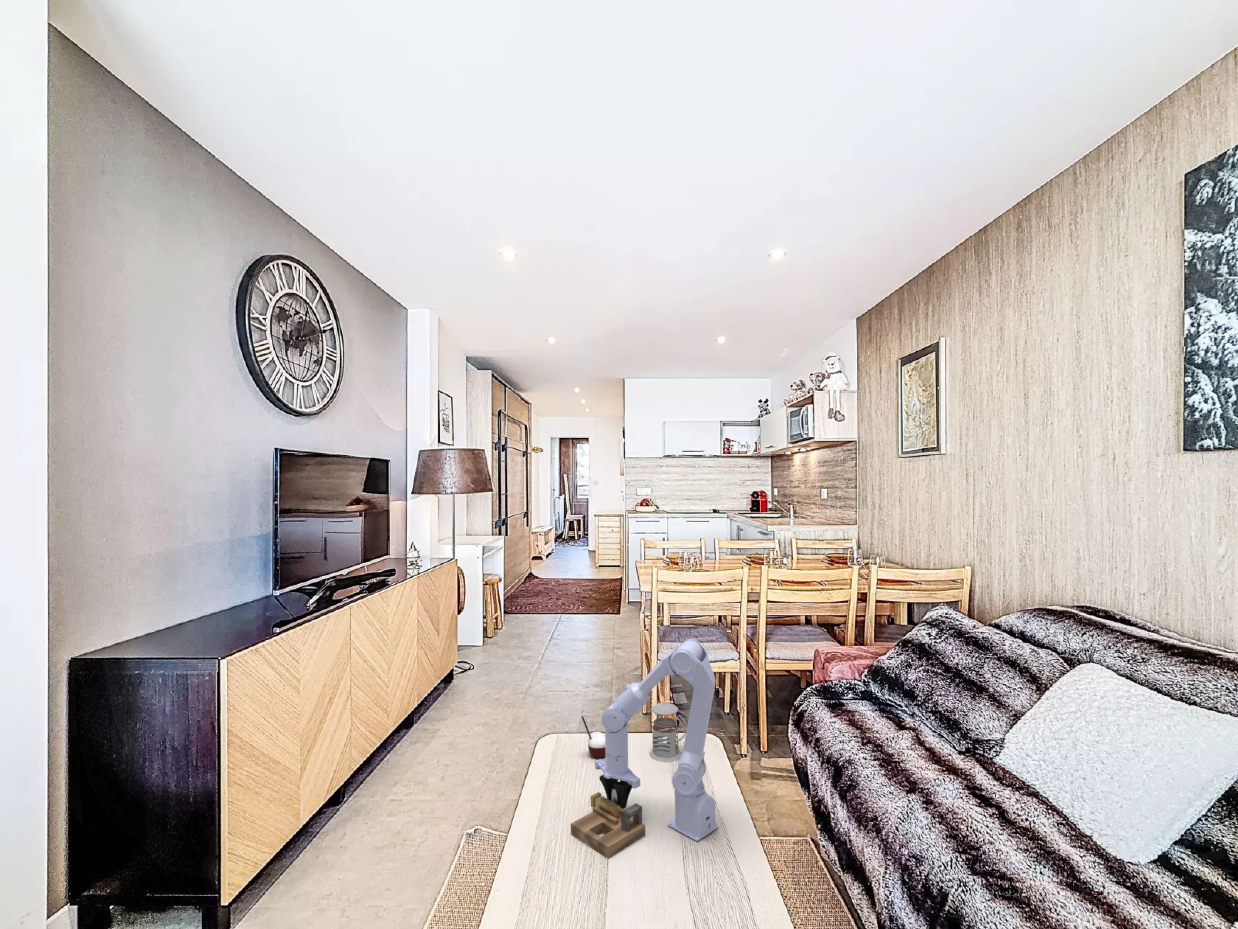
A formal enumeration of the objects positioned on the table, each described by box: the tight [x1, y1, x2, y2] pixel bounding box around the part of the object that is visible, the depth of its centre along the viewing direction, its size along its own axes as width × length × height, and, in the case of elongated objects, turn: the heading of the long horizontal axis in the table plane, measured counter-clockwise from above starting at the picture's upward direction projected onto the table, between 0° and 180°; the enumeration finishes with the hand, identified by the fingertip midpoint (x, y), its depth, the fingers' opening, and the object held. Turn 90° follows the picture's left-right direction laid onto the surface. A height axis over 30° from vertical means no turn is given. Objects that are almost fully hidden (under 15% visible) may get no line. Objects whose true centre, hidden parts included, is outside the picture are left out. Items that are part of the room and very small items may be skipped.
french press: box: [648, 675, 687, 763], centre depth 188 cm, size 10×12×25 cm
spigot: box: [611, 786, 618, 805], centre depth 158 cm, size 3×3×6 cm
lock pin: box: [590, 791, 620, 818], centre depth 154 cm, size 8×3×3 cm, turn 44°
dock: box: [570, 803, 646, 859], centre depth 148 cm, size 13×12×6 cm
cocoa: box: [581, 716, 606, 759], centre depth 189 cm, size 10×6×12 cm, turn 82°
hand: (617, 805), depth 158 cm, fingers closed on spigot, 3 cm apart
